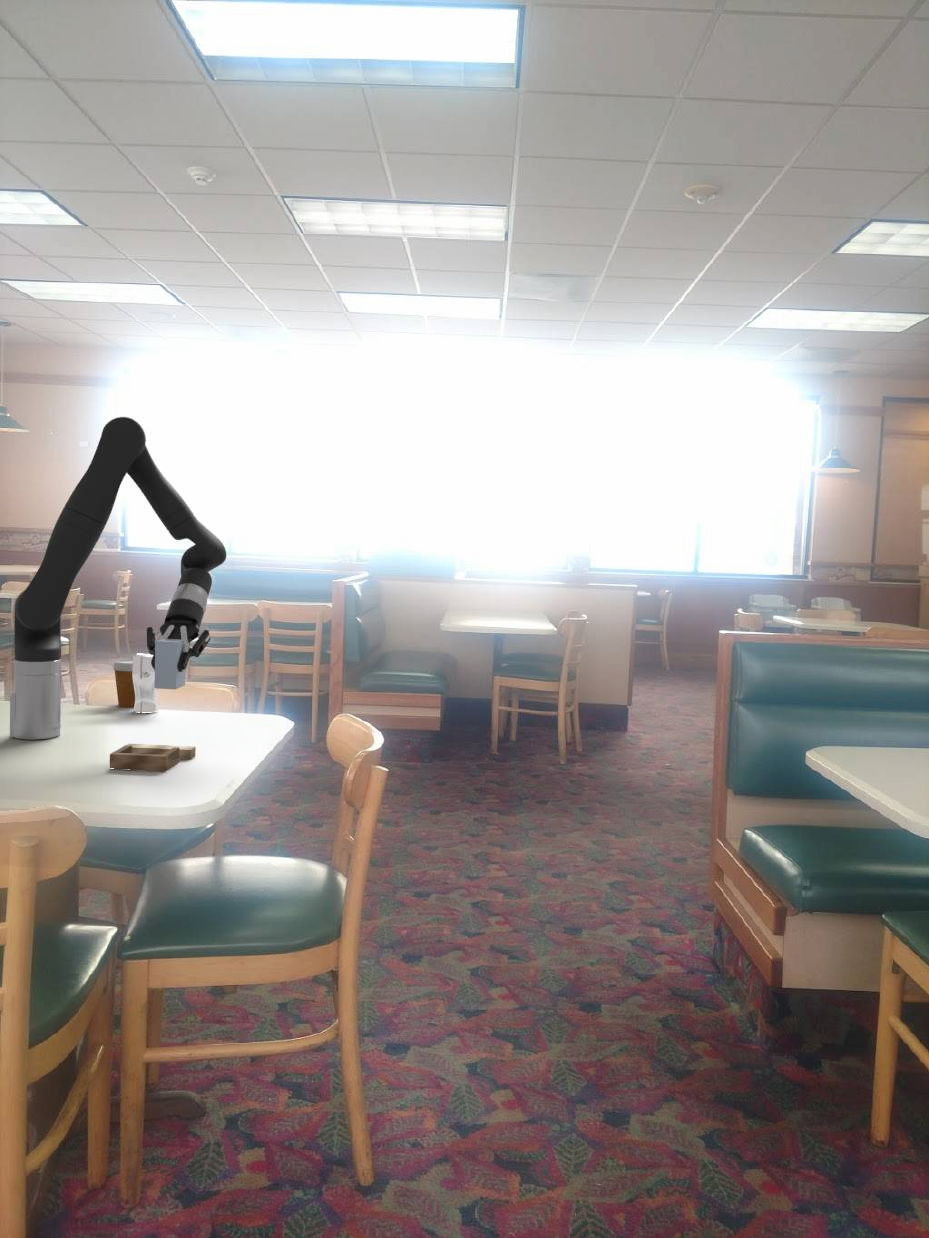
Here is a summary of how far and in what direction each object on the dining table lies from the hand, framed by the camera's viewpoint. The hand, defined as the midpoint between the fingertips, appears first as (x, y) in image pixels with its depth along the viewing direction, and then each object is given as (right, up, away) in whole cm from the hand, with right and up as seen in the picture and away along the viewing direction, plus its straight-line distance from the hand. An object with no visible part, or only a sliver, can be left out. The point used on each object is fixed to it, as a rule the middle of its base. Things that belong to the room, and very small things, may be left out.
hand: (167, 668), depth 175 cm
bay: (-1, -19, -9) cm, 21 cm away
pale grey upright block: (0, -4, +2) cm, 5 cm away
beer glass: (-21, -14, +42) cm, 49 cm away
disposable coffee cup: (-28, -13, +50) cm, 59 cm away
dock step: (-1, -18, -2) cm, 18 cm away
